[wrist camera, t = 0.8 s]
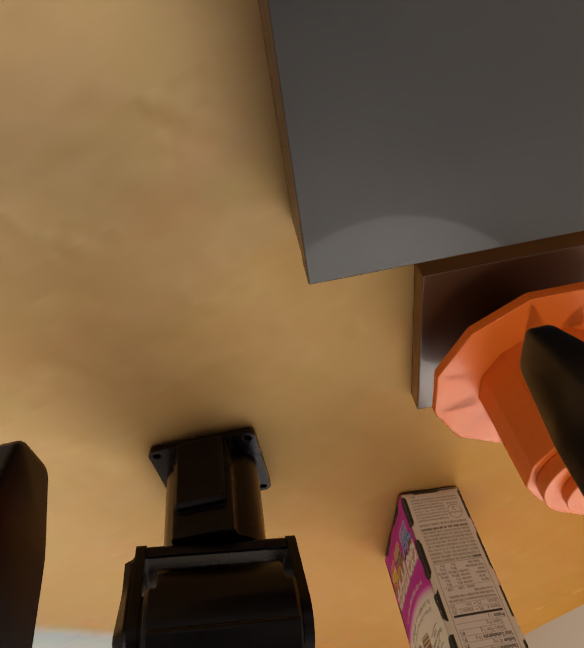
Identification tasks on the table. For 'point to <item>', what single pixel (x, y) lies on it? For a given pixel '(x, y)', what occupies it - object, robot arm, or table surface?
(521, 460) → the hat
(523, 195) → the tv stand
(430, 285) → the hat stand
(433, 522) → the candy bar box
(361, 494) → the table surface
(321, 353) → the table surface
